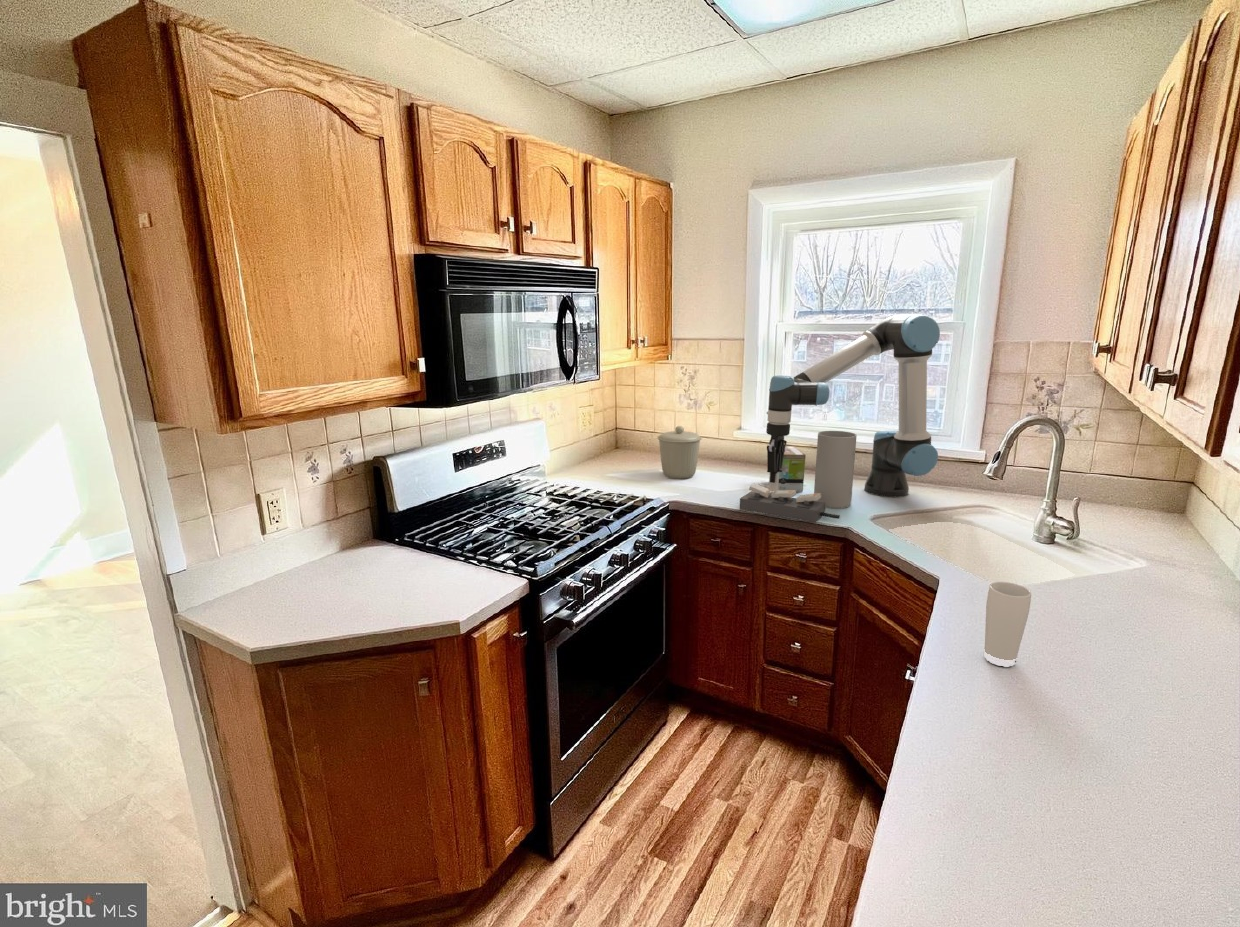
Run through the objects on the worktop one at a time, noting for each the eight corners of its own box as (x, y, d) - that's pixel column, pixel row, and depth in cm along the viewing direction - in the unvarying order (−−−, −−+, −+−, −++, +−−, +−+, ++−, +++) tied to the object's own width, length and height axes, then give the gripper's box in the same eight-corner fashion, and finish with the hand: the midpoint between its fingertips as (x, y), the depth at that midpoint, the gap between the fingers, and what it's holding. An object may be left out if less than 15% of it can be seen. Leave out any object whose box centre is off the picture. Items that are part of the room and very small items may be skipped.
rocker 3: (821, 499, 202) (820, 492, 202) (817, 502, 199) (816, 495, 199) (801, 501, 207) (799, 494, 206) (797, 504, 203) (795, 497, 203)
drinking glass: (1028, 666, 115) (1040, 593, 111) (1002, 674, 113) (1013, 599, 109) (996, 649, 121) (1006, 579, 118) (970, 655, 119) (980, 584, 115)
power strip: (843, 517, 201) (844, 501, 199) (834, 525, 192) (836, 509, 191) (750, 502, 218) (751, 487, 217) (739, 509, 210) (740, 494, 208)
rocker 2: (796, 496, 207) (795, 489, 207) (792, 499, 204) (791, 492, 203) (776, 496, 211) (775, 490, 211) (772, 499, 208) (771, 493, 207)
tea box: (804, 492, 229) (806, 453, 226) (777, 492, 230) (779, 454, 226) (793, 481, 244) (795, 445, 240) (768, 481, 244) (770, 445, 241)
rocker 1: (771, 496, 212) (773, 490, 211) (766, 499, 209) (768, 493, 208) (753, 488, 215) (754, 483, 215) (748, 491, 212) (750, 485, 211)
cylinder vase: (856, 508, 209) (863, 437, 203) (821, 509, 208) (826, 437, 203) (842, 498, 221) (847, 430, 215) (808, 499, 221) (812, 431, 215)
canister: (689, 483, 242) (690, 431, 237) (649, 478, 251) (649, 427, 246) (707, 473, 257) (709, 424, 252) (669, 468, 266) (670, 421, 261)
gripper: (774, 418, 210) (769, 484, 216) (760, 424, 200) (755, 493, 205) (796, 421, 206) (790, 488, 212) (782, 426, 196) (776, 497, 201)
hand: (773, 490), depth 209 cm, fingers closed
